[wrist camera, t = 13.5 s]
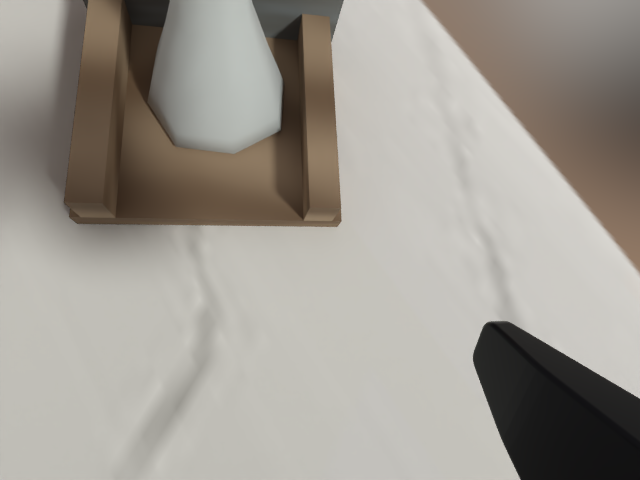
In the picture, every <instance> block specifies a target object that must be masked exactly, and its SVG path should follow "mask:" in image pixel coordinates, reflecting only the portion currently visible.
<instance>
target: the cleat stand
mask: <svg viewBox="0 0 640 480" xmlns="http://www.w3.org/2000/svg"><path fill="white" fill-rule="evenodd" d="M83 1H84V3H85V5H86V8H87V16H86V24H85V32H84V41H83V49H82V57H81V65H80V74H79V82H78V90H77V98H76V106H75V115H74V123H73V131H72V139H71V148H70V156H69V164H68V172H67V181H66V189H65V197H64V203H65V204H66V205H67V206H68V207H70V214H69V217H70V218H71V219H72V220H73V221H74V222H76V223H77V224H151V225H233V226H315V227H337V226H338V225H339V224H340V222H341V200H340V183H339V166H338V149H337V133H336V116H335V99H334V83H333V66H332V49H331V41H332V38H333V35H334V31H335V28H336V24H337V21H338V18H339V14H340V11H341V8H342V4H343V1H344V0H252V3H253V6H254V8H255V11H256V14H257V16H258V19H259V22H260V24H261V27H262V30H263V32H264V35H265V38H266V41H267V43H268V46H269V48H270V50H271V53H272V55H273V57H274V60H275V62H276V64H277V67H278V69H279V71H280V74H281V76H282V79H283V81H284V97H283V110H282V123H281V130H280V131H278V132H276V133H274V134H273V135H271V136H269V137H267V138H265V139H263V140H261V141H259V142H257V143H255V144H253V145H251V146H249V147H247V148H245V149H243V150H241V151H239V152H237V153H235V154H230V153H222V152H214V151H205V150H197V149H189V148H181V147H176V146H175V144H174V143H173V141H172V140H171V138H170V137H169V135H168V133H167V132H166V130H165V129H164V127H163V126H162V124H161V123H160V121H159V120H158V118H157V116H156V115H155V113H154V112H153V110H152V109H151V107H150V106H149V104H148V96H149V90H150V85H151V79H152V73H153V68H154V62H155V57H156V52H157V48H158V44H159V40H160V37H161V34H162V30H163V27H164V24H165V20H166V16H167V12H168V7H169V3H170V0H83Z"/></svg>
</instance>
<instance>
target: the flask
mask: <svg viewBox="0 0 640 480" xmlns="http://www.w3.org/2000/svg"><path fill="white" fill-rule="evenodd" d="M283 97H284V81H283V79H282V76H281V74H280V71H279V69H278V67H277V64H276V62H275V60H274V57H273V55H272V53H271V50H270V48H269V46H268V43H267V41H266V38H265V35H264V32H263V30H262V27H261V24H260V22H259V19H258V16H257V14H256V11H255V8H254V6H253V3H252V0H170V3H169V7H168V12H167V16H166V20H165V24H164V27H163V30H162V34H161V37H160V40H159V44H158V48H157V52H156V57H155V62H154V68H153V73H152V79H151V85H150V90H149V96H148V104H149V106H150V107H151V109H152V110H153V112H154V113H155V115H156V116H157V118H158V120H159V121H160V123H161V124H162V126H163V127H164V129H165V130H166V132H167V133H168V135H169V137H170V138H171V140H172V141H173V143H174V144H175V146H176V147H181V148H189V149H197V150H205V151H214V152H222V153H230V154H235V153H237V152H239V151H241V150H243V149H245V148H247V147H249V146H251V145H253V144H255V143H257V142H259V141H261V140H263V139H265V138H267V137H269V136H271V135H273V134H274V133H276V132H278V131H280V130H281V123H282V110H283Z"/></svg>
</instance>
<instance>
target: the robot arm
mask: <svg viewBox="0 0 640 480" xmlns="http://www.w3.org/2000/svg"><path fill="white" fill-rule="evenodd" d="M473 362H474V366H475V369H476V372H477V374H478V377H479V380H480V383H481V385H482V388H483V391H484V394H485V396H486V399H487V402H488V404H489V407H490V410H491V413H492V415H493V418H494V421H495V424H496V426H497V429H498V431H499V434H500V436H501V439H502V441H503V443H504V446H505V448H506V450H507V452H508V454H509V456H510V458H511V461H512V463H513V465H514V467H515V469H516V471H517V473H518V475H519V477H520V479H521V480H640V399H639V398H638V397H636V396H634V395H633V394H631V393H629V392H627V391H626V390H624V389H622V388H621V387H619V386H617V385H616V384H614V383H612V382H610V381H609V380H607V379H605V378H604V377H602V376H600V375H599V374H597V373H595V372H593V371H592V370H590V369H588V368H587V367H585V366H583V365H582V364H580V363H578V362H576V361H575V360H573V359H571V358H570V357H568V356H566V355H565V354H563V353H561V352H560V351H558V350H556V349H554V348H553V347H551V346H549V345H548V344H546V343H544V342H543V341H541V340H539V339H537V338H536V337H534V336H532V335H531V334H529V333H527V332H526V331H524V330H522V329H520V328H519V327H517V326H515V325H514V324H512V323H510V322H507V321H491V322H487V323H486V324H485V325H484V326H483V329H482V331H481V334H480V337H479V339H478V342H477V345H476V347H475V350H474V353H473Z"/></svg>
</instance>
